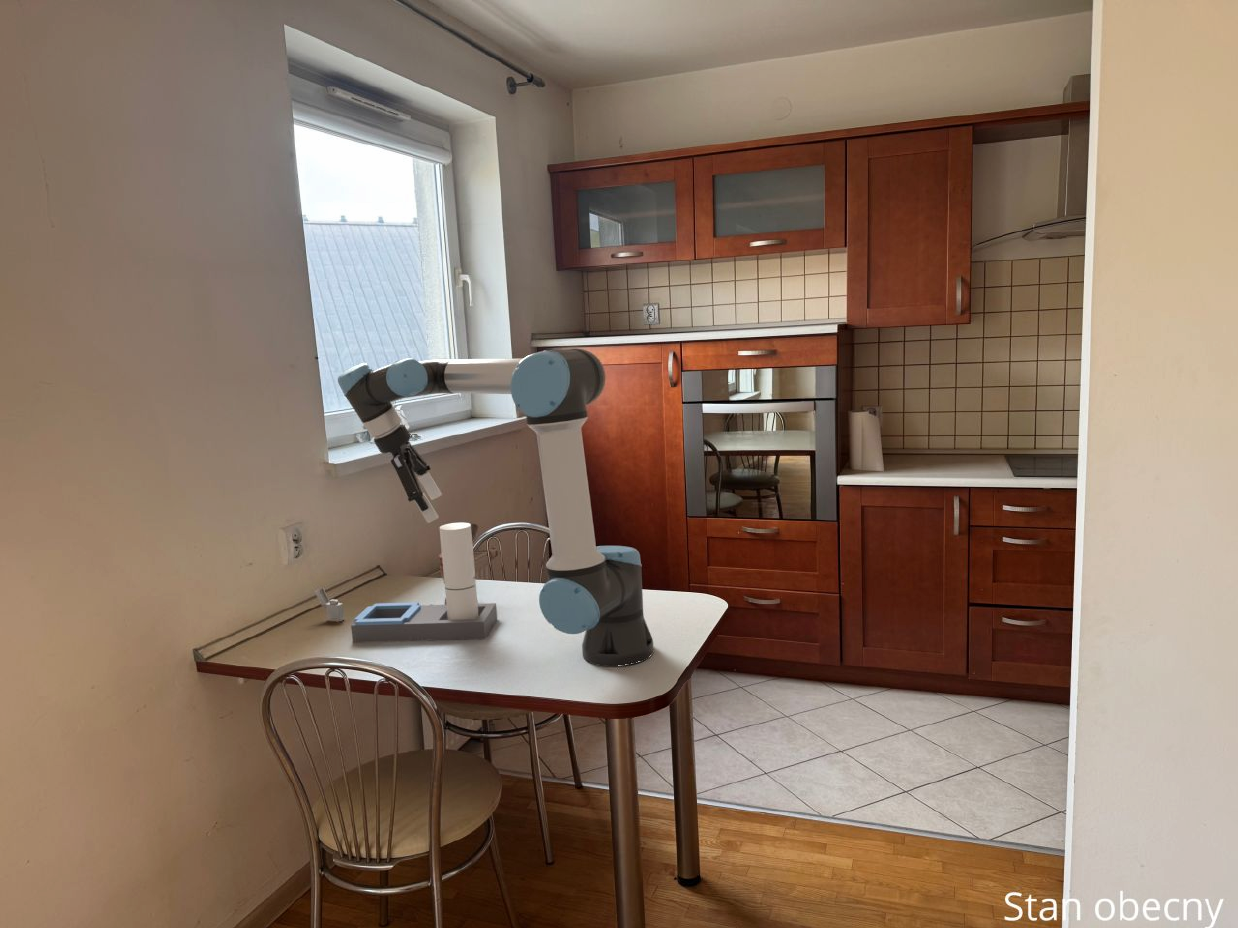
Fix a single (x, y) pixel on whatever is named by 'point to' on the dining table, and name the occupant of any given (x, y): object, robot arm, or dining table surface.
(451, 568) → the cylindrical container
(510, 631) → the dining table surface
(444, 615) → the socket rack
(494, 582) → the dining table surface
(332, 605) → the lighter
